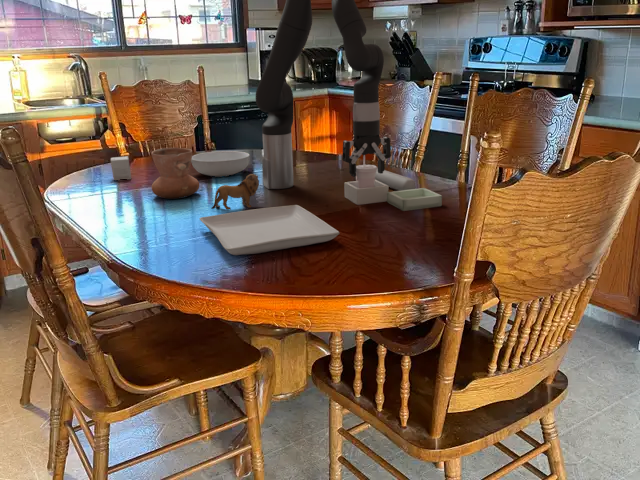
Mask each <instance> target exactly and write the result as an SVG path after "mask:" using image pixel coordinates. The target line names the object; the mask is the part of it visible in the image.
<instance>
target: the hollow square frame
mask: <svg viewBox="0 0 640 480" xmlns="http://www.w3.org/2000/svg"><path fill="white" fill-rule="evenodd" d="M389 189H390V188H389V186H388V185H386V184H383V183H381V182H379V181H377V180H375V182H374V187H368V188H360V189H359V188H358V181H357V180H355V181H354V180H353V181H347V182H344V198H346V199H347V200H349V201H350V202H351V203H353V204H355V205H357V206H359V205H368V204H376V203H383V202H387V192H389Z"/></svg>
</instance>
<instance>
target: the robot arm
mask: <svg viewBox="0 0 640 480" xmlns="http://www.w3.org/2000/svg"><path fill="white" fill-rule="evenodd" d="M312 10H313V9H312V0H285V4H284V8H283V10H282V14H281V16H280V19H279V22H278V26H277V29H276V33H275V37H274V40H273V44H272V47H271V49H270V54H269V56H268V59H267V63H266V66H265V69H264V70H263V73H262V75H261V78H260V80H259V83H258V85H257V88H256V90H255V103H256V106H257V108H258V109H259V110H260V111H261V112H263V113H267V114H268V116H267V118H266V120H265V121H264V122H263V124H262V126H261V133H262V148H263V149H262V150H263V156H262V157H261V163H262V178H263V179H262V180H263V186H264V187H265V188H266V189H268V190H270V189H271V190H280V189H289V188H292V187H293V186H294V168H293V167H294V164H293V163H294V162H293V141H292V139H293V138H292V137H293V136H292V127H293V124H294V93H293V89H292V88H291V86H290V84H289V83H288V82H286V81H285V80H286V79H287V77H288V76H287V75H288V73H289V71H290V69H291V68H292V66H293V65H294V63H295V62H296V60H297V59H298V58H299V57H300V55H301V54H302V52H303V51H304V49H305V47H306V44H307V42H308V39H309V35H310V33H311V29H312V26H313V25H312V24H313V11H312ZM331 11H332V15H333V18H334V21H335V24H336V26H337V28H338V30H339V33H340V35H341V36H342V42H343V50H344V54H345V59H346V62H347V64H348V65H349V67H350V68H351V69H352V71H355V72H358V73H359V72H361V77H360V79H359V80H357V81H356V82H354V84H353V108H352V118H353V119H352V125H353V126H352V127H353V130H352V131H353V132H352V133H353V138H352V140H343V141H342V161H343V162H344V163H345V162H346V163H348V173H349V174H350V175H351V176H352V178H354V177H356V178H357V173H356V166H357V164H356V162H357V161H358V159H359V158H360V157H361V156H363V155H365V156H366V155H375V156H376V157H377V168H378V173H380V174H381V173H383V171H384V170H386V168H385V165H386V163H385V161H386V160H387V159H390V158H391V157H392V153H391V152H392V149H391V138H390V137H387V136H383V137H380V134H381V133H380V132H381V127H380V126H381V125H380V124H381V123H380V121H381V120H380V119H381V114H380V111H381V110H380V102H379V100H380V98H379V97H380V95H379V93H380V91H379V87H380V82H381V78H382V74H383V69H384V65H385V64H384V62H385V60H384V59H385V57H384V53H383V49H382V48H381V47H380V46H379V45H378V44H374V43H367V44H364V41H363V37H365V36H366V34H367V26H366V24H365V21H364V18H363V17H362V14H361V13H360V10H359V8H358V6H357V4H356V1H355V0H331ZM380 144H381V145H382V147H383V149H382V150H383V152H382V151H381V149H380V148H379V146H380ZM352 147H354V149H353V151H352V152H351V149H352ZM350 153H351V154H350Z"/></svg>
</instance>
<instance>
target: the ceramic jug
mask: <svg viewBox="0 0 640 480" xmlns="http://www.w3.org/2000/svg"><path fill="white" fill-rule="evenodd" d="M192 156H193V150H192V149H190V148H185V147H165V148H164V147H163V148H159V149H155V150H153V151H151V157H152V160H153V164H154V165H155V167H156V170H157V171H158V173H159V174H160V176H159V177H157V179H155V180H154V182H152V185H151V191H152V194H154V195H156V196H157V197H159V198H162V199H169V200H175V199H176V200H177V199H184V198H188V197H189V196H192V195H194V194H196V192H198V190H199V189H200V182H199V181H198V179H197V178H195V177H194V176H192V175H190V174H189V170H190V167H191V165H192V163H191V160H192Z"/></svg>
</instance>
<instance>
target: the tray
mask: <svg viewBox="0 0 640 480" xmlns="http://www.w3.org/2000/svg"><path fill="white" fill-rule="evenodd" d="M442 201H443V195H441V194H439V193H437V192H434V191H433V190H430V189H428V188H426V187H421V188H415V189H411V190H402V191H398V190H394V191H388V192H387V201H386V202H387V204H389V205H392V206H393V207H395V208H397V209H399V210H400V211H402V212H405V211H413V210H415V211H416V210H421V209H429V208H438V207H442V204H443V203H442Z"/></svg>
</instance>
